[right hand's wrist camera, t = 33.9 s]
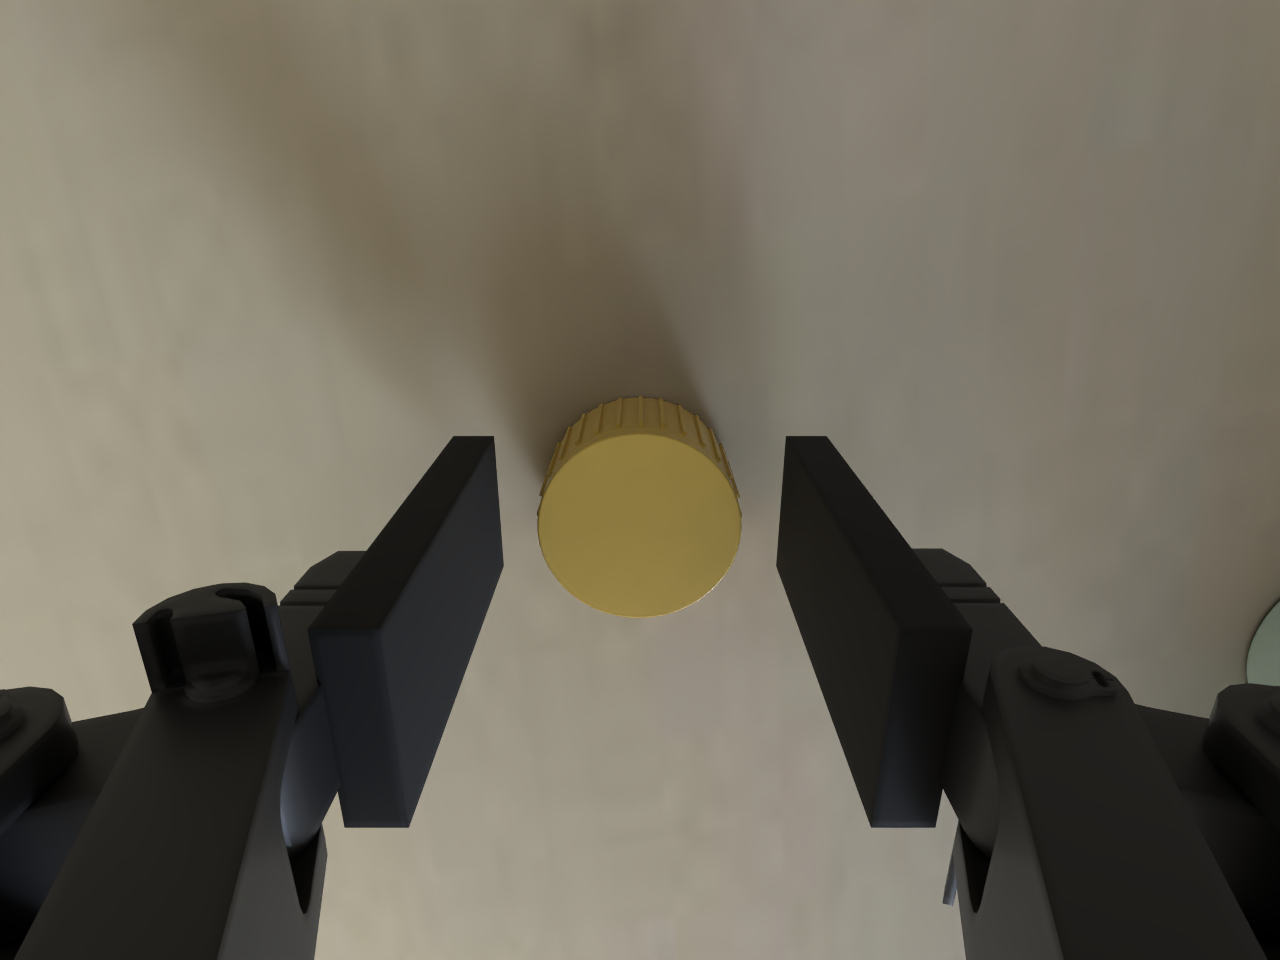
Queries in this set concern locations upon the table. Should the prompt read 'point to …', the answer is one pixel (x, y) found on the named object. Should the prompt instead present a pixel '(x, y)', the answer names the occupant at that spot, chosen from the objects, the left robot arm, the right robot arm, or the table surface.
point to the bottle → (1266, 651)
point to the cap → (639, 509)
